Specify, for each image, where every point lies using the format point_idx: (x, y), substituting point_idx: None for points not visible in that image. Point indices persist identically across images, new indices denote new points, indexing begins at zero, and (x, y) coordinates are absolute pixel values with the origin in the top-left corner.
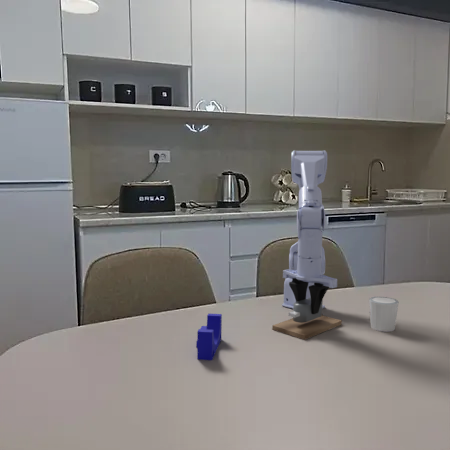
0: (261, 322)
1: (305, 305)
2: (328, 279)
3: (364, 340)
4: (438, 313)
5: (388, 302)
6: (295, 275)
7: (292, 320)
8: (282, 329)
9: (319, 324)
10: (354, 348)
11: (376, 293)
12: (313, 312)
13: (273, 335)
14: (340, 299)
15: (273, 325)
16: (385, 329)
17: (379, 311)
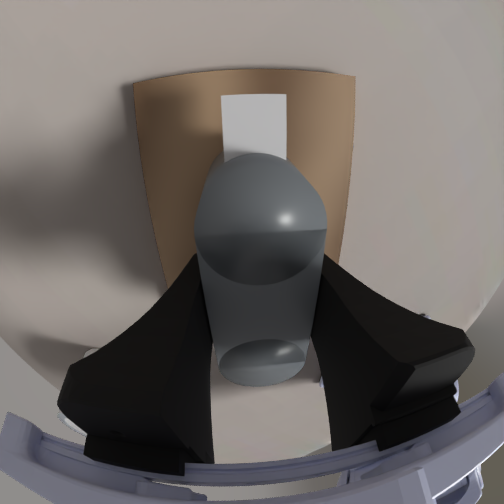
0: (427, 131)
1: (202, 227)
2: (18, 481)
3: (44, 267)
4: None
5: (74, 424)
6: (451, 474)
7: (327, 209)
8: (285, 69)
9: None
10: (8, 190)
11: (280, 450)
12: (192, 258)
13: (287, 17)
14: (317, 419)
15: (350, 78)
16: (84, 355)
17: None
